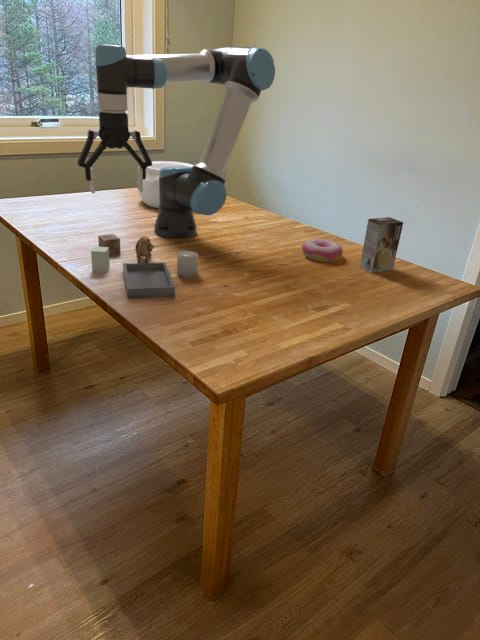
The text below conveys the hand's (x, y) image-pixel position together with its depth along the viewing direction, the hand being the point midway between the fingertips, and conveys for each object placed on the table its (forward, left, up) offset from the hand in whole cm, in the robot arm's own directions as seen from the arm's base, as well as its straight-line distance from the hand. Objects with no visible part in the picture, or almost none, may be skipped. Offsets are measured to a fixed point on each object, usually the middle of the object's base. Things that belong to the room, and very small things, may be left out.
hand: (117, 191), depth 137 cm
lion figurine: (-7, +3, -21) cm, 22 cm away
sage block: (+6, +8, -20) cm, 23 cm away
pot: (-25, -67, -21) cm, 74 cm away
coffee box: (-80, +15, -20) cm, 84 cm away
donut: (-66, +3, -21) cm, 69 cm away
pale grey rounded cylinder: (-18, +14, -20) cm, 31 cm away
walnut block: (+3, -6, -20) cm, 21 cm away
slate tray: (-6, +20, -20) cm, 29 cm away
